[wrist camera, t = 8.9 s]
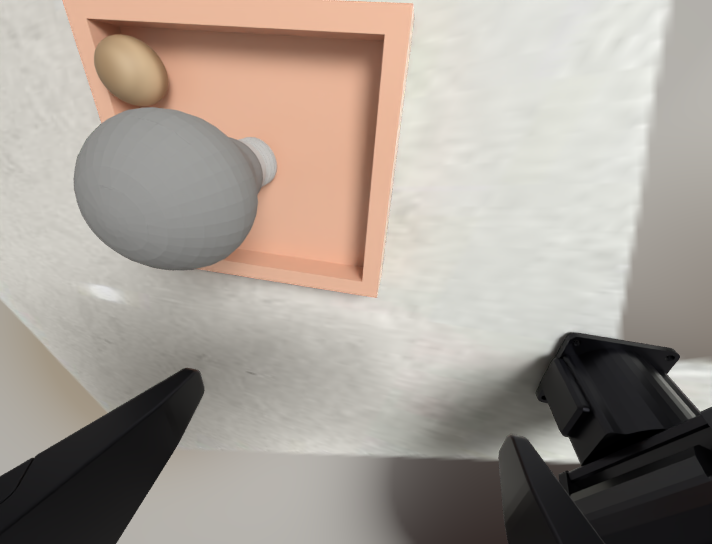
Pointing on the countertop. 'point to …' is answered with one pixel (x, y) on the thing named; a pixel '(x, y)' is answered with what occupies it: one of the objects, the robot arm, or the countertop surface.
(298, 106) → the dish
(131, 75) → the cork ball
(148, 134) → the light bulb
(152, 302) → the countertop surface
